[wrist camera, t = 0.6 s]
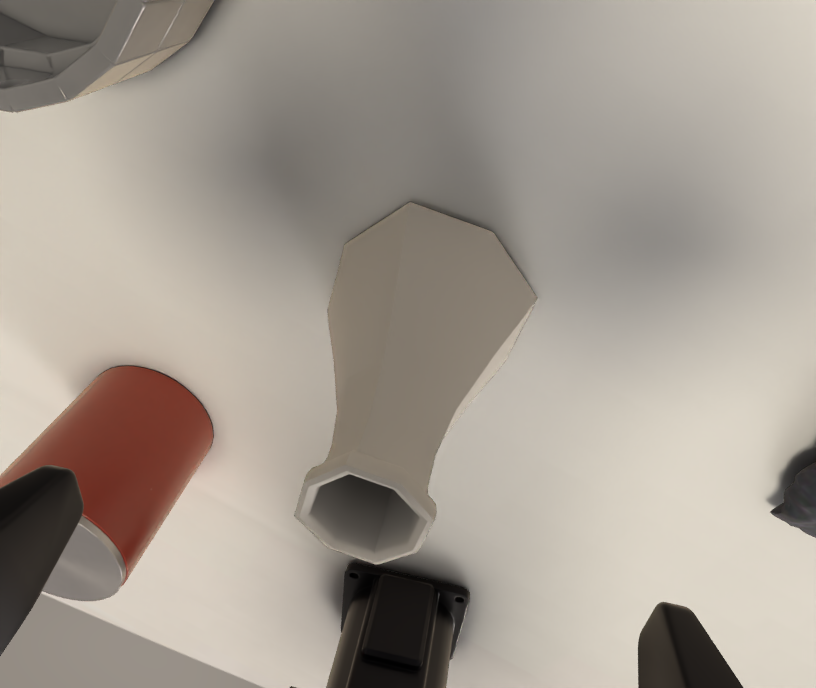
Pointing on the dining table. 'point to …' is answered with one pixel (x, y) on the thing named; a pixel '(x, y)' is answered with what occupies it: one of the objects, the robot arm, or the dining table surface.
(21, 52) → the bowl
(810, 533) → the dark grey cloth
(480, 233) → the flask
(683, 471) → the dining table surface
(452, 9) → the dining table surface
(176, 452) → the tin can
